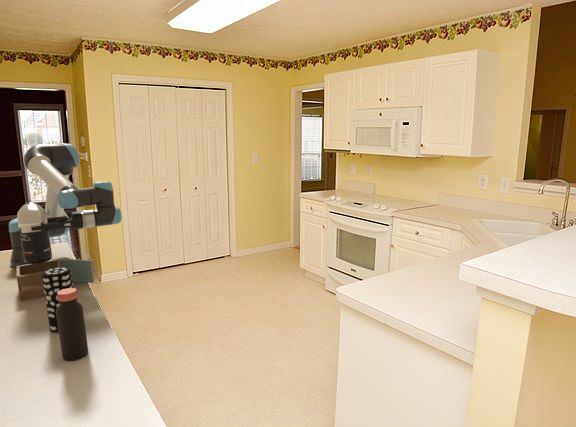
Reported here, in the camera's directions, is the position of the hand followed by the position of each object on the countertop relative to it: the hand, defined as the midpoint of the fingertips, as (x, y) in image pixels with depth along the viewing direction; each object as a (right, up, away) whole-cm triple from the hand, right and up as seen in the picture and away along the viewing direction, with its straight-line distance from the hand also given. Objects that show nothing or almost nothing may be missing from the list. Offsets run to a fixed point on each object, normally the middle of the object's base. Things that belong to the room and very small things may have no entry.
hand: (21, 227), depth 160 cm
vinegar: (+45, -36, -42) cm, 71 cm away
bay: (+4, -27, +8) cm, 28 cm away
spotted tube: (+31, -33, -25) cm, 52 cm away
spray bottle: (+4, -14, +5) cm, 16 cm away
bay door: (+14, -25, +17) cm, 33 cm away
